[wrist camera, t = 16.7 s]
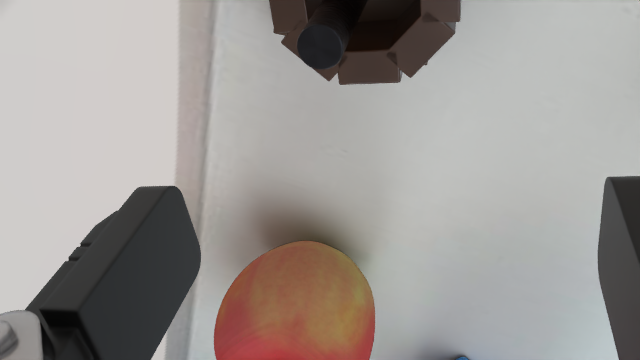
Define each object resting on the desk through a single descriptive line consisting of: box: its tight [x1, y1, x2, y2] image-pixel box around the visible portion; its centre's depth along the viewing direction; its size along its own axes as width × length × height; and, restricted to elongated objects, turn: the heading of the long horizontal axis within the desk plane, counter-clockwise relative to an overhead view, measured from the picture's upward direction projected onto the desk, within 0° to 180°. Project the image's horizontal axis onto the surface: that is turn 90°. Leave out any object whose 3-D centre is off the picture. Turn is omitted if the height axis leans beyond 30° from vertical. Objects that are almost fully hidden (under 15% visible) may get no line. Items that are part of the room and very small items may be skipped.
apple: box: [214, 241, 375, 360], centre depth 37 cm, size 10×10×10 cm
